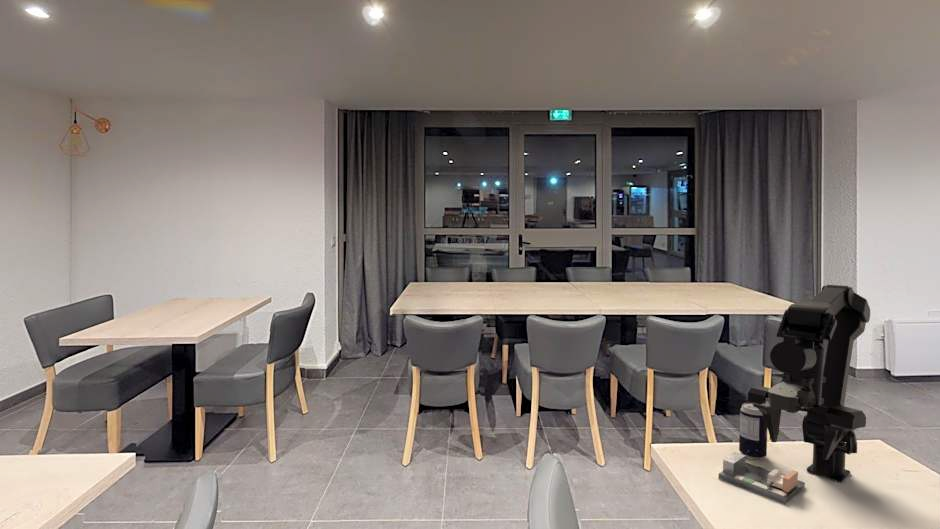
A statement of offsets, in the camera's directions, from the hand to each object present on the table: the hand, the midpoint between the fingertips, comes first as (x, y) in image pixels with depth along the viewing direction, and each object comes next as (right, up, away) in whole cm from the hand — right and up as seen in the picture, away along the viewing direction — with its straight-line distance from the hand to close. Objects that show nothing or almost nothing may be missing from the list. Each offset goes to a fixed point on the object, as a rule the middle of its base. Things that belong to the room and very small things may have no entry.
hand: (798, 450), depth 94 cm
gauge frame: (-2, -11, +10) cm, 14 cm away
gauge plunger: (0, -10, +6) cm, 11 cm away
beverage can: (+4, -10, +22) cm, 24 cm away
